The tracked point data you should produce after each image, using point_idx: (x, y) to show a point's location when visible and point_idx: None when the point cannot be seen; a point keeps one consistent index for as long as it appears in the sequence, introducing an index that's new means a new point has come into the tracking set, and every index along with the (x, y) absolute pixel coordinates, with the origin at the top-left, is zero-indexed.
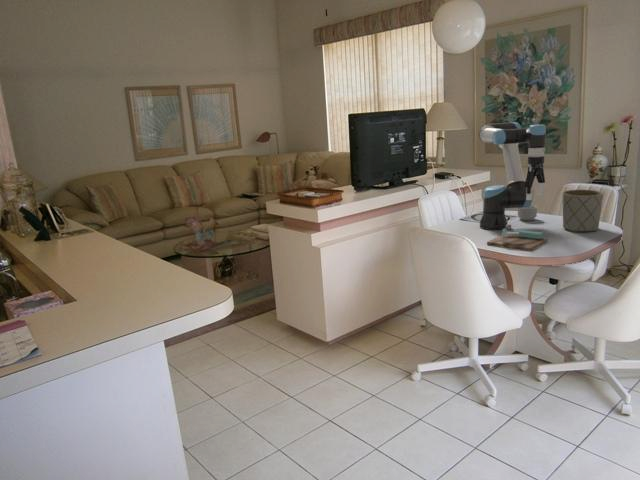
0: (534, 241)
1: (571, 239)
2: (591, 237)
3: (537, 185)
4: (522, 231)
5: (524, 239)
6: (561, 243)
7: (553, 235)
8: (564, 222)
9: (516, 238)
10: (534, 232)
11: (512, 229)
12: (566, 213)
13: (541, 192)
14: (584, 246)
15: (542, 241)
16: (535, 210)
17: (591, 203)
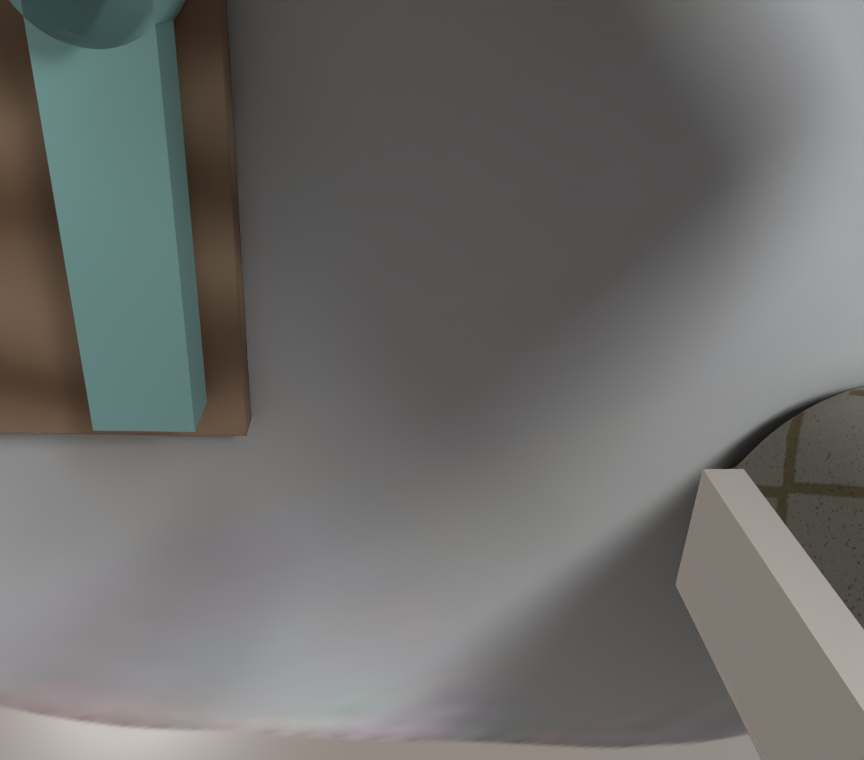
0: (26, 370)
1: (424, 556)
2: (563, 647)
3: (859, 736)
4: (94, 200)
5: (32, 246)
6: (239, 534)
7: (506, 390)
8: (822, 450)
9: (8, 140)
10: (141, 350)
11: (119, 13)
12: (846, 552)
13: (712, 641)
14: (251, 680)
15: (86, 433)
16: None
17: None
